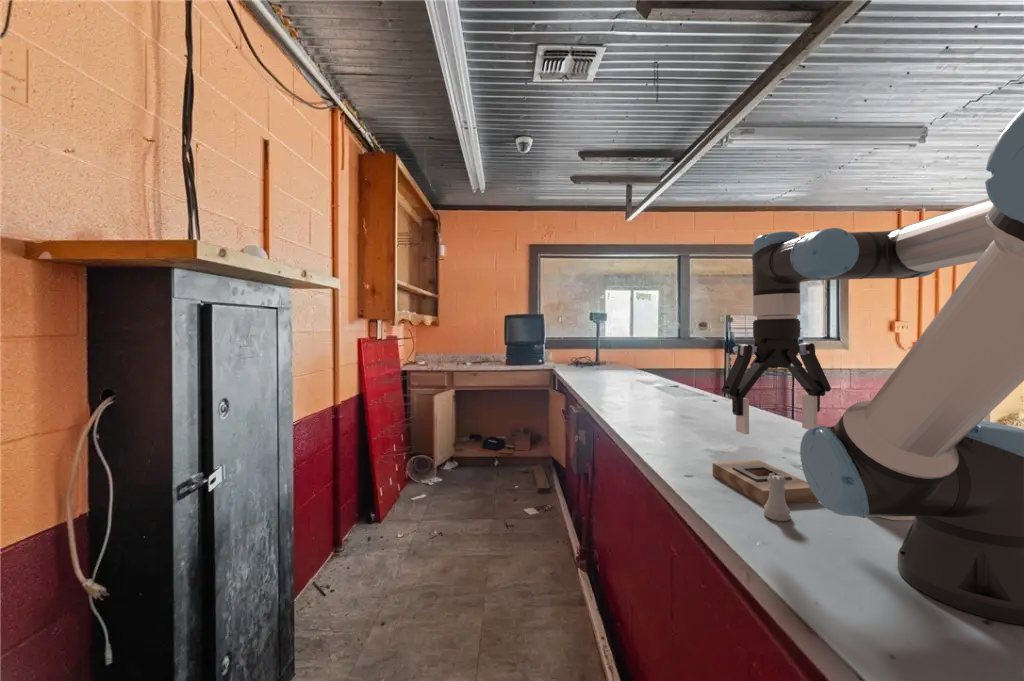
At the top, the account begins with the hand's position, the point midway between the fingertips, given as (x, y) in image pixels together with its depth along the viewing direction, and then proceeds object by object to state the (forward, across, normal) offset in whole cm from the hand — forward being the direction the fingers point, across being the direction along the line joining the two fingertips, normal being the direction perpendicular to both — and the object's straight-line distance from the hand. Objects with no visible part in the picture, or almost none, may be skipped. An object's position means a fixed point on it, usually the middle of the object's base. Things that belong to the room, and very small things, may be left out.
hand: (776, 431), depth 81 cm
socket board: (+16, -7, -14) cm, 23 cm away
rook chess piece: (+16, 0, 0) cm, 17 cm away
